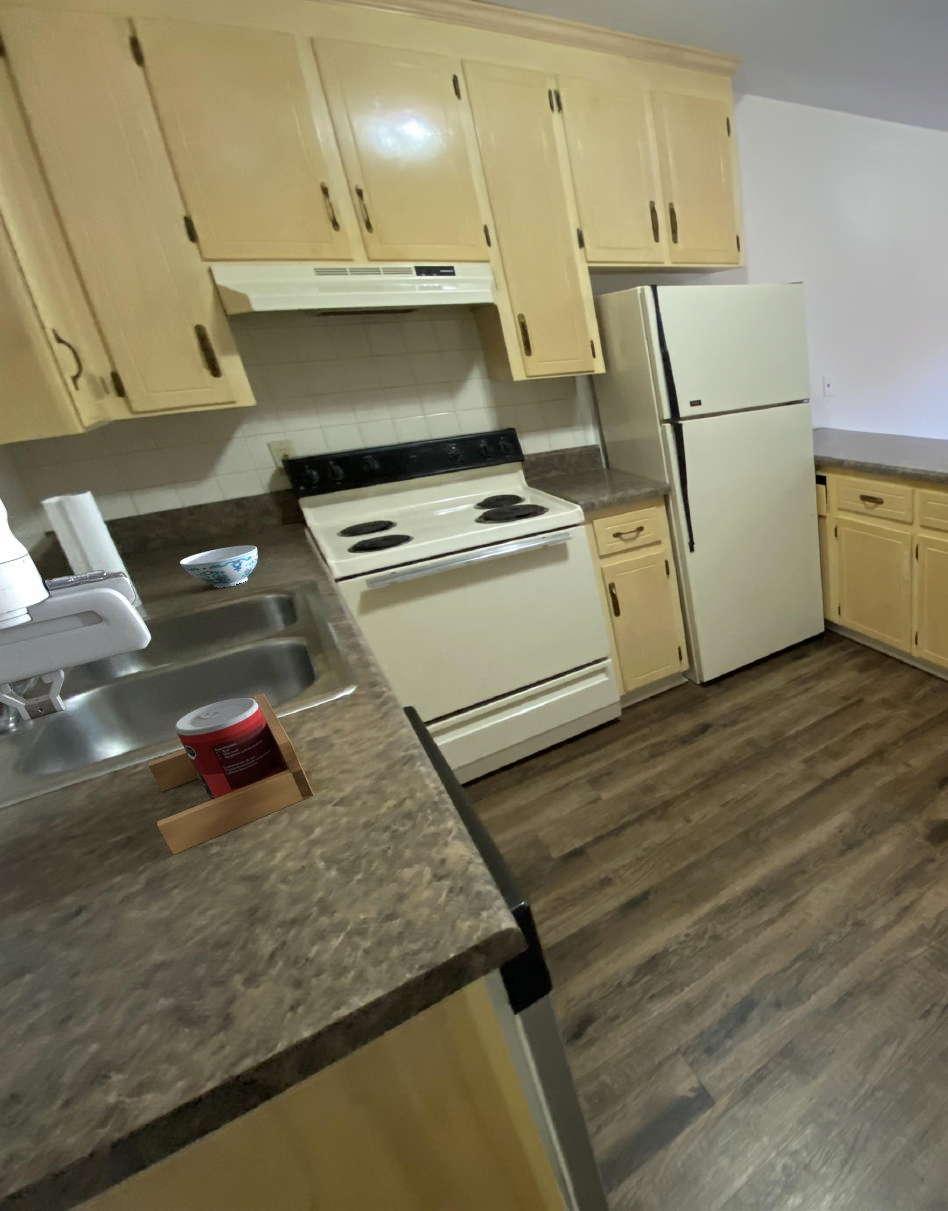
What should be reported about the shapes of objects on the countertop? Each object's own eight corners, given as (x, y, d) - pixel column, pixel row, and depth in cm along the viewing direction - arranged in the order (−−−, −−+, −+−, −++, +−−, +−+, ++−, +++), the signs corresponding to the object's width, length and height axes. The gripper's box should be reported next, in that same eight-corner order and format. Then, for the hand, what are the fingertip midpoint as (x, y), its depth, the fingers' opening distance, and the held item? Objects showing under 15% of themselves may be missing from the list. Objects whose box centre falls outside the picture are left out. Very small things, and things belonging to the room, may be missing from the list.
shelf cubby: (173, 855, 73) (140, 796, 70) (161, 788, 85) (133, 735, 82) (313, 795, 81) (290, 740, 78) (284, 742, 93) (263, 692, 90)
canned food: (236, 774, 87) (201, 702, 82) (301, 765, 88) (270, 693, 84) (196, 812, 80) (155, 735, 75) (267, 801, 81) (232, 725, 76)
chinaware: (282, 572, 173) (271, 544, 170) (229, 593, 159) (216, 563, 156) (233, 573, 175) (221, 546, 172) (176, 594, 161) (162, 564, 158)
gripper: (121, 559, 74) (172, 669, 79) (-186, 617, 60) (-101, 745, 65) (123, 570, 69) (177, 685, 75) (-206, 634, 56) (-113, 769, 61)
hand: (45, 714), depth 70 cm, fingers closed
